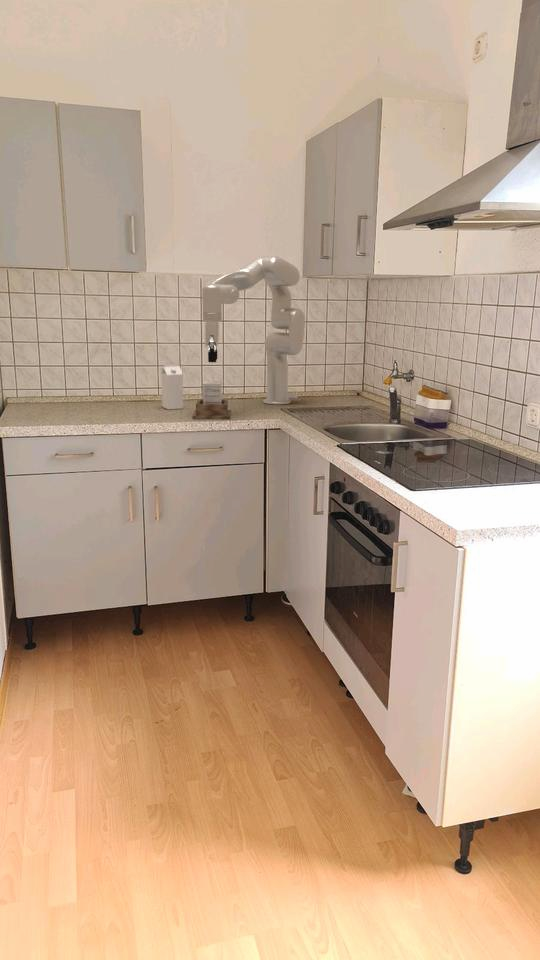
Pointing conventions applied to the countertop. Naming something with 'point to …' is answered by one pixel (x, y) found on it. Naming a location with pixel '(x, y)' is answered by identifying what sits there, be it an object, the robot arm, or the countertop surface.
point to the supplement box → (212, 392)
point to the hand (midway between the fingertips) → (212, 360)
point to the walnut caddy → (211, 410)
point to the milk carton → (172, 386)
